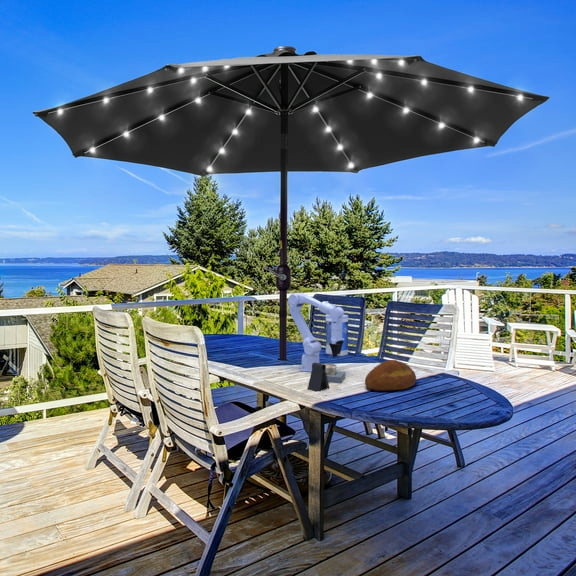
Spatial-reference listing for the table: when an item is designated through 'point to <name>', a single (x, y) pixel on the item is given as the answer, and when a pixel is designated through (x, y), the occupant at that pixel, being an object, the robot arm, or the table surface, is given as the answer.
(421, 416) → the table surface
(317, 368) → the phone stand
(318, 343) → the robot arm
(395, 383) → the bread
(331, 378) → the socket block
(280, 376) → the table surface
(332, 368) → the square peg
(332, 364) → the round peg
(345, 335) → the string lights box
